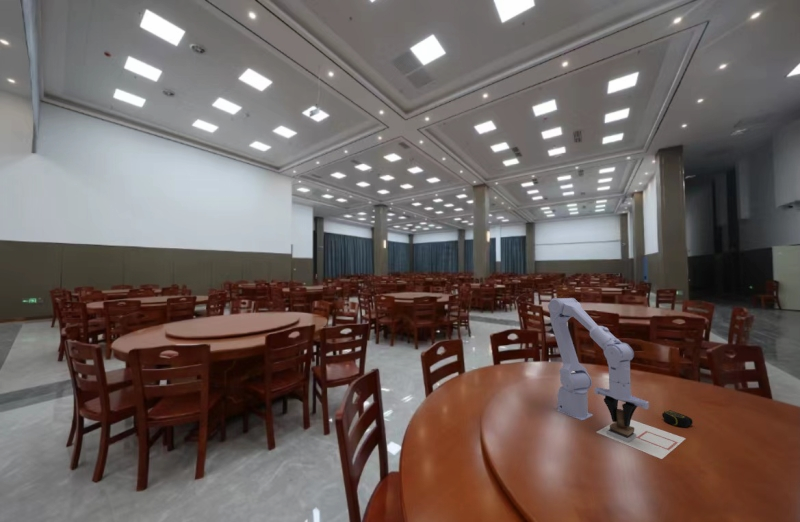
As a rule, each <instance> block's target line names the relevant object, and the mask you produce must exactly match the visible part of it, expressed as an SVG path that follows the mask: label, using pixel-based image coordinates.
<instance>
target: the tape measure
mask: <svg viewBox="0 0 800 522" xmlns="http://www.w3.org/2000/svg"><path fill="white" fill-rule="evenodd" d="M662 418H663V421H664V422H666V423H668V424H670V425H673V426H675V427H679V428H688V427H690V426H692V425H693V422H694V421H693V419H692V418H691V417H690V416H687V415H684V414H682V413H679V412H676V411H673V410H669V409H668V410H664V411H663V413H662Z"/></svg>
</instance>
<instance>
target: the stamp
mask: <svg viewBox="0 0 800 522" xmlns="http://www.w3.org/2000/svg"><path fill="white" fill-rule="evenodd" d="M610 424H611V425H610ZM610 424H609V425H610V429H611V430H612V431H614V432H617V433H620V434H622V435H625V436H627V437H628V436H629V435H631V434H632V433H633V432H634V427H631V426H628V427H626V426H625V425H624V411H623V408H622V409H621V408H617V409H616V422H611V423H610Z"/></svg>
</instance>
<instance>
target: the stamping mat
mask: <svg viewBox="0 0 800 522" xmlns="http://www.w3.org/2000/svg"><path fill="white" fill-rule="evenodd" d="M611 424H612V423H610V424H608V425H606V426H605V427H603V428H601V429H599V430H597V431H596V434H598V435H602V436H605V437H607V438H609V439H612V440H614V441H616V442H619V443H621V444H624V445H626V446H629V447H631V448H634V449H636V450H639V451H641V452H644V453H646V454H648V455H650V456H653V457H655V458H658V459H660V460H662V459H664V458H665V457H667V455H668V454H670V453H671V452H672V451H674V450H675V449H676V448H677V447H678V446H679V445H681V443H683V442H684V441H685V440H686V439H687V438H685V437H683V436H681V435H680V436H679V435H677V434H675V433H671V432H668V431H666V430H663V429H659V428H657V427H654V426H650V425H649V424H645V423H642V422H640V421H636V420H634V419H631V421H630V426H631V427H634V432H633V433H632V434H631V435H629V436H628V437H627V436H625V435H622V434H620V433H617V432H614V431H612V430H611V429H610V425H611Z"/></svg>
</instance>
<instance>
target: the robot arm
mask: <svg viewBox="0 0 800 522" xmlns="http://www.w3.org/2000/svg"><path fill="white" fill-rule="evenodd" d="M547 308H548V309H547V310H548V311H549V312H548V313H549V316H550V320H549V321H550V324H551V327H552V330H553V334H554V337H555V341H556V343H557V347H558V351H559V354H560V357H561V361H562V367H561V368H560V369H559V374H560V378H559V379H560V384H561V386H560V387H559V389H558V391H557V409H556V411H557V412H559V413H561V414H564V415H567V416H569V417H571V418H574V419H576V420H579V421H586V420H587V419H589V418H591V417H594V414H592V413H590V412H589V410H588V409H589V408H588V406H589V405H588V404H589V403H588V392H589V389H591V387H592V384H593V381H592V378H591V376H590V375H589V373H588V371H587V368H586V367H585V366H583V365H582V364H581V363H580V362H579V358H578V356H577V353H576V349H575V345H574V344H573V343H574V342H573V339H572V336H571V332H570V330H569V326H568V324H567V322H568V321H569V320H570V319H571V318H572V317H573V318H574V319H575V320H576V321H578V322H579V323H580V324H581V325H582V326H584V327H585V329H586V330H588V331H589V336H590V338H591V339H592V340H593V341H594V343H596V344H597V345H598V346H599V347H600V348H601V349H602V350H603V355H604V357H605V359H606V361H607V365H608V388H609V389H608V388H602V387H598V386H596V387H594V394H595V395H601V396H604V398H603V401H604V403H605V405H606V407H607V409H608V411H609V415H610V417H611V420H612V423H614V422H616V409H618V408H619V407H618V405H619V401H620V402H623V404H622V405H621V407H622V410H623V411H624V425H625V426H626V427H628V426H630V421H631V420H632V418H633V415H634V413H635V411H636V409H637V408H638V407H640V408H642V409H643V410H648V409H650V401H647V400H643V399H642V398H639V397H636V396H634V395H632V386H631V385H632V384H631V380H632V379H631V361H632V360H633V358H635V352H634V349H633V348H632V347H631V346H630V344H628V343H626V342H622V341H621V340H620V339H619V338H617V337H616V336H614V334H613V333H611V332H610V329H609V328H608V327H606V326H603V325H598V324H597V323H596V322H595V321H594V320H593V318H592V317H591V316H590V315H589V314H588V313H587V311H585V310H584V308H582V304H581V303H580V302H578V300H576V298H574V297H569V298H568V297H567V298H565V297H564V298H563V297H562V298H561V297H560V298H558V297H557V298H556V297H553V298H552V299H550V301H549V302H548V304H547Z"/></svg>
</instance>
